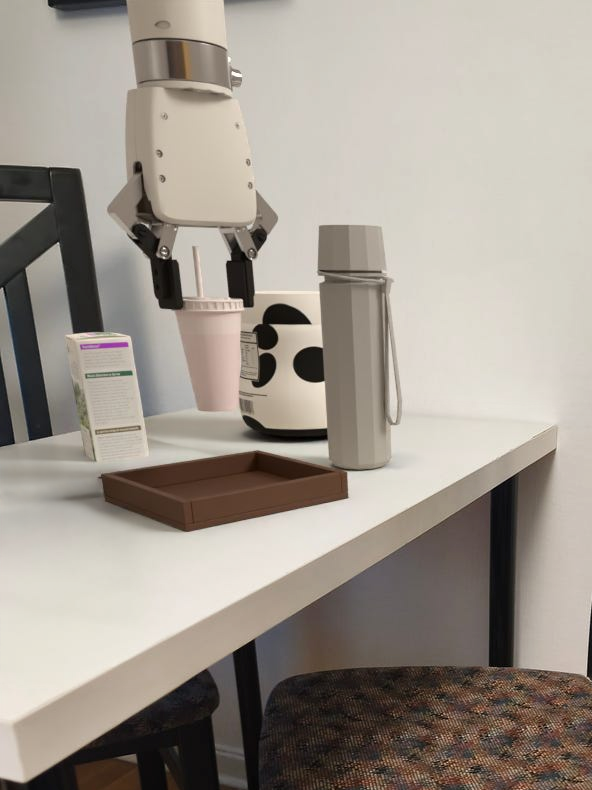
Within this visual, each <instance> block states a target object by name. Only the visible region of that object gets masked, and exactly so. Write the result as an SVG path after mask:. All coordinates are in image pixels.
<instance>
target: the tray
mask: <svg viewBox="0 0 592 790" xmlns="http://www.w3.org/2000/svg"><path fill="white" fill-rule="evenodd" d="M100 477H101V485H102V492H103V499H104V501H105V502H108V503H110V504H113V505H116V506H119V507H121V508H122V509H123V508H124V509H126V510H129V511H130V512H131V511H132V512H133V513H137V514H139V515H142V516H145V517H147V518H150V519H152V520H155V521H157V522H160V523H162V524H165V525H168V526H170V527H173V528H175V529H177V530H181V531H184V532H191V531H195V530H201V529H205V528H206V529H207V528H210V527H215V526H220V525H225V524H229V523H230V524H231V523H235V522H238V521H239V522H240V521H245V520H249V519H253V518H258V517H263V516H268V515H272V514H277V513H283V512H286V511H293V510H296V509H301V508H306V507H311V506H317V505H320V504H326V503H330V502H335V501H340V500H344V499H348V498H349V485H348V484H349V481H348V480H349V479H348V472H347V471H345V470H341V469H336V468H333V467H328V466H325V465H321V464H316V463H312V462H308V461H303V460H300V459H296V458H291V457H289V456H284V455H279V454H275V453H271V452H268V451H263V450H259V449H256V450H250V451H244V452H236V453H231V454H223V455H217V456H210V457H203V458H198V459H197V458H196V459H191V460H185V461H183V460H182V461H176V462H171V463H163V464H157V465H150V466H144V467H138V468H132V469H125V470H117V471H112V472H111V471H110V472H105V473H101V474H100Z"/></svg>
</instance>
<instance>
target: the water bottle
mask: <svg viewBox="0 0 592 790" xmlns="http://www.w3.org/2000/svg"><path fill="white" fill-rule="evenodd" d="M317 240H318V243H317V271H316V273H317V276H318V277H323V279H324V281H322V282H320V283H318V288H319V289H318V291H320V309H321V326H322V344H323V362H324V379H325V397H326V415H327V432H328V435H327V446H328V447H327V448H328V449H327V450H328V459H329V460H330V462H331V463H332V464H333V465H334V466H335V467H337V468H340V469H344V470H355V471H356V470H357V471H363V470H374V469H380V468H383V467H384V466H386V465H387V464H389V462H390V461H391V459H392V435H391V434H392V433H391V426H398V425H399V426H400V424H401V419H402V413H403V411H402V410H403V395H402V388H401V381H400V373H399V372H400V371H399V364H398V357H397V356H398V355H397V348H396V340H395V339H396V338H395V333H394V323H393V316H392V307H391V299H390V294H391V289H392V284H393V283H394V282H395V280H394V278H392V277H389V276H388V274H387V273H385V272H384V271H386V272H387V270H388V269H387V262H386V261H387V260H386V252H385V245H384V235H383V227H382V226H381V225H367V224H363V225H362V224H321V225H318V239H317ZM390 345H391V346H390ZM390 347H391V355H392V363H393V364H392V365H393V372H394V373H393V374H394V382H395V391H396V400H397V406H396V408H397V409H396V419H395V422H393V419H392V416H391V400H390V398H391V397H390Z"/></svg>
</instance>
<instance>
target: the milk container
mask: <svg viewBox="0 0 592 790" xmlns="http://www.w3.org/2000/svg"><path fill="white" fill-rule="evenodd" d="M244 309H245V310H244V311H241V333H240V361H241V363H240V364H241V365H240V371H239V403H238V409H239V412H240V416H241V418H242V420H243V423H244V424H245V425H246V426H247V427H248V428H250V429H251V430H253V431H254V432H258V433H261V434H266V435H270V436H277V437H279V436H280V437H299V438H300V437H305V438H306V437H321V436H328V432H327V415H326V397H325V379H324V362H323V344H322V326H321V309H320V291H319V290H255V295H254V307H253V308H244Z"/></svg>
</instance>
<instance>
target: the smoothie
mask: <svg viewBox="0 0 592 790" xmlns="http://www.w3.org/2000/svg"><path fill="white" fill-rule="evenodd" d="M191 250H192V257H193V258H192V259H193V266H194V275H195V276H194V278H195V287H196V296H182V297H183V308H182V309H181V310H171V311H172V312H174V313H175V317H176V322H177V326H178V330H179V335H180V339H181V344H182V348H183V352H184V356H185V361H186V365H187V370H188V374H189V379H190V382H191V383H190V384H191V386H192V392H193V395H194V400H195V404H196V408H197V411H200V412H207V413H208V412H210V413H220V412H221V413H222V412H230V411H231V412H232V411H237V410H238V409H239V378H240V368H241V365H240V364H241V363H240V361H241V348H240V333H241V311H244V310H245V309H244V307H243V300H242V299H239V298H230V297H229V296H204V295H205V294H204V285H203V276H202V265H201V256H200V255H201V254H200V247H199V245H192V246H191Z"/></svg>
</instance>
